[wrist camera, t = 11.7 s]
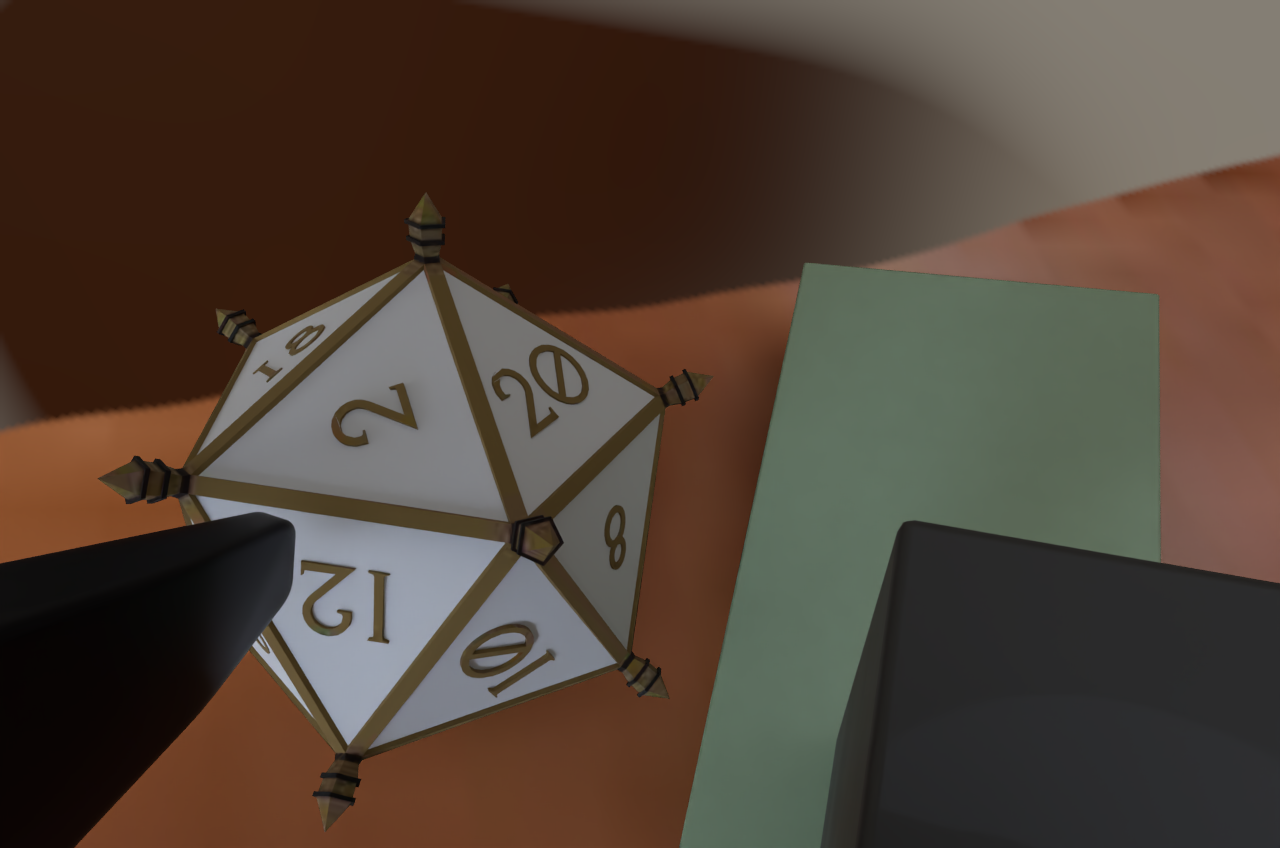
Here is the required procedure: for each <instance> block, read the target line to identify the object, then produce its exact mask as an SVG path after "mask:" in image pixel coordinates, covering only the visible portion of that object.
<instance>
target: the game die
mask: <svg viewBox="0 0 1280 848" xmlns="http://www.w3.org/2000/svg"><path fill="white" fill-rule="evenodd" d="M404 223H406V224H408V225H409V233H410V235H408V236H406V240H407V241H410V242H411V243H412V246H413V248H414V251H415V256H414V260H412V261H410V262H408V263H406V264H404V265H402V266H400V267H398V268H396V269H394V270H392V271H390V272H388V273H385V274H383V275H381V276H380V277H377V278H375V279H373V280H371V281H369V282H367V283H365V284H363V285H361V286H359V287H357V288H355V289H353V290H351V291H349V292H347V293H345V294H343V295H341V296H339V297H337V298H335V299H333V300H331V301H329V302H327V303H325V304H323V305H321V306H319V307H317V308H314V309H312V310H311V311H308V312H306V313H304V314H302V315H301V316H298V317H296V318H294V319H292V320H290V321H288V322H286V323H284V324H282V325H280V326H278V327H276V328H274V329H272V330H270V331H268V332H266V333H264V334H261V333H259V332H258V330H257V329H256V322H255V320H254V319H251V320H250V319H249V318H248V317H247V316H246V311H244V310H240V311H229V310H220V309H216V314H217V319H218V325H219V329H218V331H217V333H218V334H221V335H224V336H227V337H228V338H229V339H228V341H229V342H230V343H234V344H237V345H243V346H244V347H245V348H246V351H245V353H244V355H243V357H242V359H241V361H240V362H239V364H238V366H237V368H236V370H235V372H234V373H233V375H232V377H231V379H230V381H229V383H228V385H227V386H226V389H225V390H224V392H223V394H222V396H221V398H220V399H219V401H218V403H217V405H216V407H215V409H214V411H213V412H212V414H211V416H210V418H209V420H208V422H207V424H206V425H205V427H204V429H203V431H202V433H201V435H200V437H199V438H198V440H197V442H196V444H195V446H194V448H193V450H192V451H191V453H190V455H189V457H188V459H187V461H186V462H185V464H184V466H183V468H181V469H173V468H171V467H168V466H166V465H165V464H164V463H163V462H162V461H161V460H160V459H155V460H154V462H146V461H143V460H142V459H141V458H140V457H139V456H134V457H133V459H132V461H131V462H130V463H128V464H126V465H124V466H122V467H120V468H118V469H116V470H114V471H112V472H110V473H108V474H106V475H104V476H102V477H100V478H98V479H99V480H100V481H102V482H103V483H104V484H106V485H107V486H109V487H110V488H111V489H113V490H114V491H116V492H117V493H119V494H120V495H121V496H123V497H124V498H125V501H126V504H132V503H135V502H137V501H140V500H147V503H155V502H158V501H161V500H164V499H167V497H169V496H172V497H175V498H178V499H179V502H180V506H181V509H182V513H183V516H184V520H185V523H186V526H188V525H193V524H198V523H203V522H208V521H212V520H217V519H222V518H227V517H232V516H237V515H242V514H247V513H252V512H264V513H267V514H270V515H273V516H277V517H280V518H283V519H286V520H289V521H290V522H291V523H292V524H293V525H294V528H295V531H296V540H295V555H294V570H293V583H292V587H291V591H290V593H289V596H288V598H287V600H286V601H285V603H284V604H283V606H282V607H281V609H280V610H279V611H278V612H277V614H276V615H275V616H274V618H273V619H272V620H271V622H270V623H269V624H268V626H267V627H266V628H265V629H264V631H263V632H262V633H261V635H260V636H259V637H258V639H257V640H256V641H255V643H254V644H253V645H252V647H251V648H250V649H249V650H250V652H251V653H252V654H253V655H254V656H255V658H256V659H257V660H258V661H259V662H260V664H261V665H262V666H263V667H264V668H265V670H266V671H267V672H268V673H269V674H270V675H271V677H272V678H273V679H274V680H275V681H276V683H277V684H278V685H279V686H280V687H281V689H282V690H283V691H284V692H285V693H286V695H287V696H288V697H289V698H290V699H291V701H292V702H293V703H294V704H295V705H296V706H297V708H298V709H299V710H300V711H301V712H302V714H303V715H304V716H305V717H306V718H307V720H308V721H309V722H310V723H311V724H312V726H313V727H314V728H315V729H316V730H317V731H318V733H319V734H320V735H321V736H322V737H323V739H324V740H325V741H326V742H327V743H328V745H329V746H330V747H331V748H332V749H333V751H334V752H335V753H336V755H335V761H334V762H333V764H332V765H331V767H330V768H329V769H328V771H327V772H326V773H321V776H320V777H321V778H323V781H322V784H321V786H320V789H319V791H318V792H316V791H314V793H313V795H312V796H314V797H317V801H318V805H319V809H320V814H321V818H322V823H323V827H324V831H326V830H327V829H328V828H329V827H330V826H331V825H332V824H333V823H334V822H335V821H336V820H337V818H338V817H339V816H340V815H341V814H342V813H343V812H344V811H345V810H346V809H347V808H348V807H349V805H351V806H353V805H354V803H355V799H356V798H353V794H354V791H355V787H359V784H360V781H361V779H359V778H358V767H359V764H360V762H361V761H362V760H364V759H366V758H369V757H372V756H375V755H378V754H381V753H383V752H386V751H389V750H392V749H395V748H397V747H400V746H403V745H406V744H409V743H411V742H414V741H417V740H420V739H423V738H426V737H428V736H431V735H434V734H437V733H440V732H442V731H445V730H448V729H451V728H454V727H456V726H459V725H462V724H465V723H468V722H471V721H473V720H476V719H479V718H482V717H485V716H487V715H490V714H493V713H496V712H499V711H501V710H504V709H507V708H510V707H513V706H516V705H518V704H521V703H524V702H527V701H530V700H532V699H535V698H538V697H541V696H544V695H546V694H549V693H552V692H555V691H558V690H561V689H563V688H566V687H569V686H572V685H575V684H577V683H580V682H583V681H586V680H589V679H591V678H594V677H597V676H600V675H603V674H606V673H608V672H611V671H614V670H619V671H621V672H622V673H623V674H624V676H625V678H626V679H627V681H628V683H627V686H628V687H630V686H633V687H634V688H635V689H636V690H637V691H638V692H639V693H638V694H637V696H638V697H639V698H640V697H641V696H643V695H646V696H653V697H660V698H668V699H670V698H669V696H668V693H667V690H666V688H665V685H664V682H663V680H662V677H661V668H660V667H658V668H657V669H656V668H655V667H654V666H652V665H651V664H650V663H649V662H650V660H649V659H648V658H646V659H645V660H644V659H641V658H639V657H637V656H635V655H634V653H633V652H632V645H633V638H634V631H635V624H636V616H637V609H638V602H639V595H640V588H641V580H642V573H643V566H644V559H645V552H646V544H647V537H648V530H649V523H650V516H651V508H652V501H653V494H654V487H655V480H656V472H657V465H658V458H659V451H660V444H661V436H662V429H663V422H664V415H665V408H666V407H668V406H670V405H676V404H681V405H682V406H684V405H685V402H687V401H690V400H692V399H695V401H697V400H698V399H699V397H698V396H699V394H700V393H701V392H702V391H703V389H704V388H705V387H706V386H707V384H708V383H709V382H710V380H711V379H712V378H713V377H714V376H710V375H703V374H697V373H690V372H687V371H686V369H684V370H682V371H683V374H681V375H679V376H677V377H675V378H674V377H673V375H672V376H670V381H669V382H668V383H667V384H665V385H664V386H663V387H661V388H655V387H654V386H652V385H650V384H649V383H647V382H645V381H644V380H642V379H640V378H639V377H637V376H635V375H634V374H632V373H630V372H629V371H627V370H625V369H624V368H622V367H620V366H619V365H617V364H616V363H614V362H612V361H611V360H609V359H607V358H606V357H604V356H602V355H601V354H599V353H597V352H596V351H594V350H592V349H591V348H589V347H587V346H586V345H584V344H582V343H581V342H579V341H577V340H576V339H574V338H572V337H571V336H569V335H567V334H566V333H564V332H563V331H561V330H559V329H558V328H556V327H554V326H553V325H551V324H549V323H548V322H546V321H544V320H543V319H541V318H539V317H538V316H536V315H534V314H533V313H531V312H529V311H528V310H526V309H524V308H523V307H521V306H519V305H518V301H517V299H516V297H515V296H514V294H513V292H512V291H511V289H510V287H509V284H506V285H504V286H502V287H499V288H495V287H494V288H493V289H491V288H490V287H488V286H486V285H485V284H483V283H481V282H480V281H478V280H476V279H475V278H473V277H471V276H470V275H468V274H466V273H465V272H463V271H461V270H460V269H458V268H456V267H455V266H453V265H451V264H450V263H448V262H446V261H445V260H443V259H442V258H440V257H439V251H440V248H441V245H444V244H445V234H442V228H445V217H441V216H440V214H439V212H438V211H437V209H436V207H435V206H434V204H433V203H432V201H431V199H430V198H429V196H428V195H427V193H425V194H424V196H423V197H422V199H421V200H420V202H419V204H418V205H417V207H416V208H415V210H414V212H413V213H412V214H411V216H410V218H406V219H404Z"/></svg>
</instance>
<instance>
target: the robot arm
mask: <svg viewBox="0 0 1280 848" xmlns="http://www.w3.org/2000/svg"><path fill="white" fill-rule="evenodd" d="M295 540H296V531H295V528H294V525H293V524H292V523H291V522H290V521H289V520H286V519H283V518H280V517H277V516H273V515H270V514H267V513H264V512H252V513H247V514H242V515H237V516H232V517H227V518H222V519H217V520H212V521H208V522H203V523H198V524H193V525H188V526H183V527H178V528H173V529H168V530H163V531H158V532H153V533H149V534H144V535H139V536H134V537H129V538H124V539H119V540H114V541H109V542H104V543H99V544H94V545H89V546H85V547H80V548H75V549H70V550H65V551H60V552H55V553H50V554H45V555H40V556H35V557H30V558H26V559H21V560H16V561H11V562H6V563H1V564H0V848H74V847H75V846H76V845H77V844H78V843H79V842H80V841H81V840H82V839H83V838H84V837H85V835H86V834H87V833H88V832H89V831H90V830H91V829H92V828H93V827H94V826H95V825H96V824H97V823H98V822H99V820H100V819H101V818H102V817H103V816H104V815H105V814H106V813H107V812H108V811H109V810H110V809H111V808H112V807H113V806H114V804H115V803H116V802H117V801H118V800H119V799H120V798H121V797H122V796H123V795H124V794H125V793H126V792H127V791H128V790H129V788H130V787H131V786H132V785H133V784H134V783H135V782H136V781H137V780H138V779H139V778H140V777H141V776H142V775H143V774H144V772H145V771H146V770H147V769H148V768H149V767H150V766H151V765H152V764H153V763H154V762H155V761H156V760H157V759H158V758H159V756H160V755H161V754H162V753H163V752H164V751H165V750H166V749H167V748H168V747H169V746H170V745H171V744H172V743H173V741H174V740H175V739H176V738H177V737H178V736H179V735H180V734H181V733H182V732H183V731H184V730H185V729H186V728H187V726H188V725H189V724H190V723H191V722H192V721H193V720H194V719H195V718H196V716H197V715H198V714H199V713H200V712H201V711H202V710H203V708H204V707H205V706H206V705H207V703H208V702H209V701H210V700H211V699H212V697H213V696H214V695H215V694H216V692H217V691H218V690H219V688H220V687H221V686H222V684H223V683H224V682H225V681H226V679H227V678H228V677H229V675H230V674H231V673H232V671H233V670H234V669H235V667H236V666H237V665H238V664H239V662H240V661H241V660H242V658H243V657H244V656H245V654H246V653H247V652H248V650H249V649H250V648H251V647H252V645H253V644H254V643H255V641H256V640H257V639H258V637H259V636H260V635H261V633H262V632H263V631H264V629H265V628H266V627H267V626H268V624H269V623H270V622H271V620H272V619H273V618H274V616H275V615H276V614H277V612H278V611H279V610H280V609H281V607H282V606H283V604H284V603H285V601H286V600H287V598H288V596H289V593H290V591H291V587H292V583H293V570H294V555H295Z"/></svg>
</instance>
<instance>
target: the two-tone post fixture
mask: <svg viewBox="0 0 1280 848" xmlns="http://www.w3.org/2000/svg"><path fill="white" fill-rule="evenodd" d="M679 848H1280V583H1274V582H1269V581H1263V580H1257V579H1251V578H1246V577H1240V576H1234V575H1228V574H1222V573H1217V572H1211V571H1205V570H1199V569H1194V568H1188V567H1182V566H1176V565H1171V564H1165V563H1161V534H1160V365H1159V295H1157V294H1149V293H1138V292H1127V291H1116V290H1104V289H1093V288H1082V287H1071V286H1060V285H1049V284H1038V283H1027V282H1016V281H1004V280H993V279H982V278H971V277H960V276H949V275H938V274H927V273H916V272H904V271H893V270H882V269H871V268H860V267H849V266H838V265H827V264H815V263H805V264H804V266H803V271H802V276H801V280H800V285H799V290H798V294H797V299H796V304H795V308H794V313H793V318H792V322H791V327H790V332H789V336H788V341H787V346H786V350H785V355H784V360H783V364H782V369H781V374H780V379H779V383H778V388H777V393H776V397H775V402H774V407H773V411H772V416H771V421H770V425H769V430H768V435H767V439H766V444H765V449H764V453H763V458H762V463H761V467H760V472H759V477H758V481H757V486H756V491H755V495H754V500H753V505H752V509H751V514H750V519H749V523H748V528H747V533H746V537H745V542H744V547H743V552H742V556H741V561H740V566H739V570H738V575H737V580H736V584H735V589H734V594H733V598H732V603H731V608H730V612H729V617H728V622H727V626H726V631H725V636H724V640H723V645H722V650H721V654H720V659H719V664H718V668H717V673H716V678H715V682H714V687H713V692H712V696H711V701H710V706H709V710H708V715H707V720H706V725H705V729H704V734H703V739H702V743H701V748H700V753H699V757H698V762H697V767H696V771H695V776H694V781H693V785H692V790H691V795H690V799H689V804H688V809H687V813H686V818H685V823H684V827H683V832H682V837H681V841H680V846H679Z"/></svg>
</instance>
